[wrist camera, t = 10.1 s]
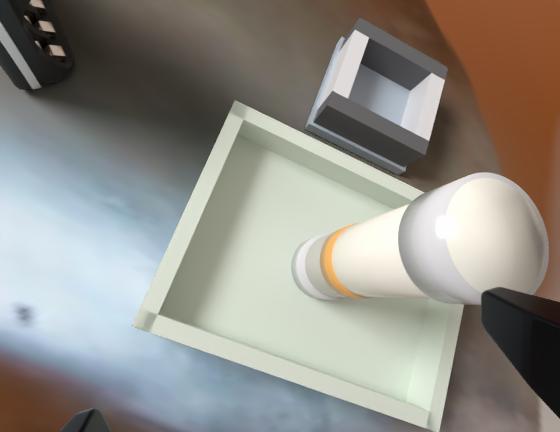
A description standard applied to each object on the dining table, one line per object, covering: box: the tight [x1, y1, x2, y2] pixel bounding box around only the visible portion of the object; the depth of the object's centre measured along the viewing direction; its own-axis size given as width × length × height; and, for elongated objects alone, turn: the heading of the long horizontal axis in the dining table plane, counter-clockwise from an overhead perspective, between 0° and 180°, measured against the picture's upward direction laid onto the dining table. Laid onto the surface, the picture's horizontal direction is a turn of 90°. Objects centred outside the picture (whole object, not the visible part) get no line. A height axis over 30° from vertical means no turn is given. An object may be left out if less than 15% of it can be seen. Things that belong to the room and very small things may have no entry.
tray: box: [132, 100, 464, 432], centre depth 20 cm, size 12×16×3 cm
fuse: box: [291, 173, 549, 305], centre depth 15 cm, size 4×4×12 cm
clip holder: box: [305, 17, 448, 175], centre depth 24 cm, size 7×7×3 cm
